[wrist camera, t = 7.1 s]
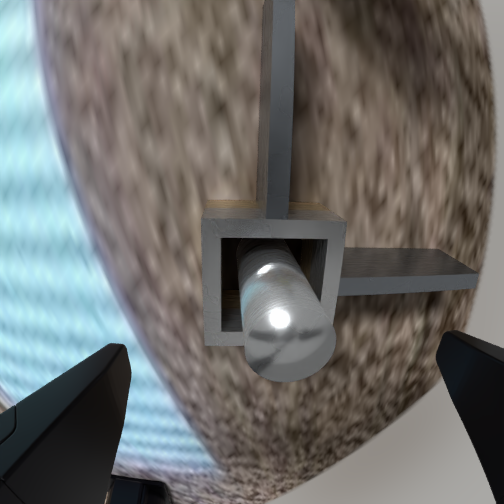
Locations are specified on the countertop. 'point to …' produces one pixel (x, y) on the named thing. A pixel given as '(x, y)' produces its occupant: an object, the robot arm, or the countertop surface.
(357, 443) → the countertop surface
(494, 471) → the robot arm
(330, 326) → the hinge pin
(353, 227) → the countertop surface
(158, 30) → the countertop surface
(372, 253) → the hinge
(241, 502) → the countertop surface
